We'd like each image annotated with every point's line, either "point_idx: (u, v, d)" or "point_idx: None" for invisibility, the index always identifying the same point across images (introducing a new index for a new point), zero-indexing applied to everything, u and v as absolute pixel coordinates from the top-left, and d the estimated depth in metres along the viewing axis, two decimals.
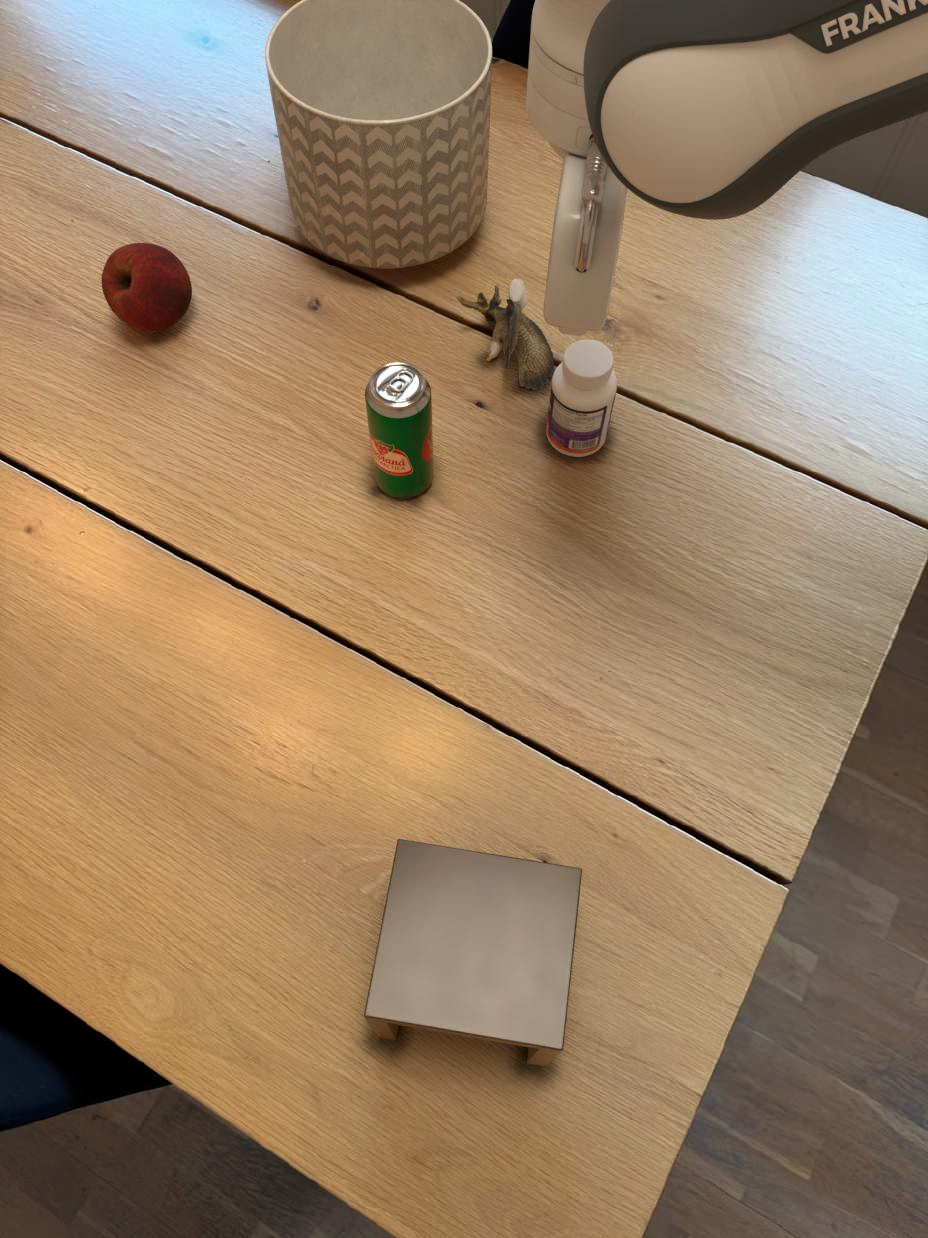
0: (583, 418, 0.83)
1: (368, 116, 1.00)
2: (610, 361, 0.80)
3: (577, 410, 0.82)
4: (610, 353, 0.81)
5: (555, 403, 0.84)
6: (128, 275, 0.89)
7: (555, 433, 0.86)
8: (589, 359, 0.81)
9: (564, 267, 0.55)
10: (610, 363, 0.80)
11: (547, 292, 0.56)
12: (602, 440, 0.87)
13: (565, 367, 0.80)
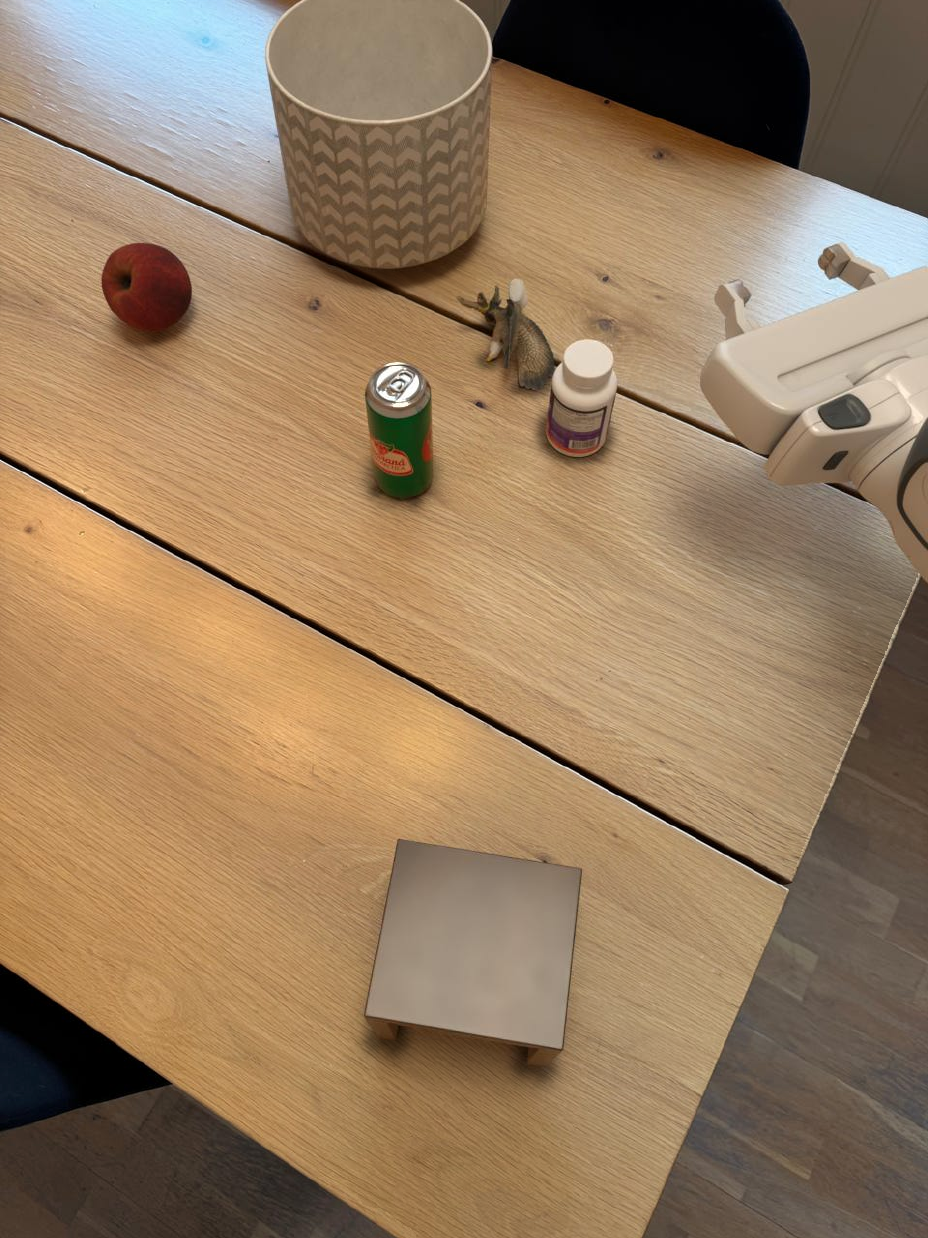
0: (583, 418, 0.83)
1: (368, 116, 1.00)
2: (610, 361, 0.80)
3: (577, 410, 0.82)
4: (610, 353, 0.81)
5: (555, 403, 0.84)
6: (128, 275, 0.89)
7: (555, 433, 0.86)
8: (589, 359, 0.81)
9: None
10: (610, 363, 0.80)
11: None
12: (602, 440, 0.87)
13: (565, 367, 0.80)
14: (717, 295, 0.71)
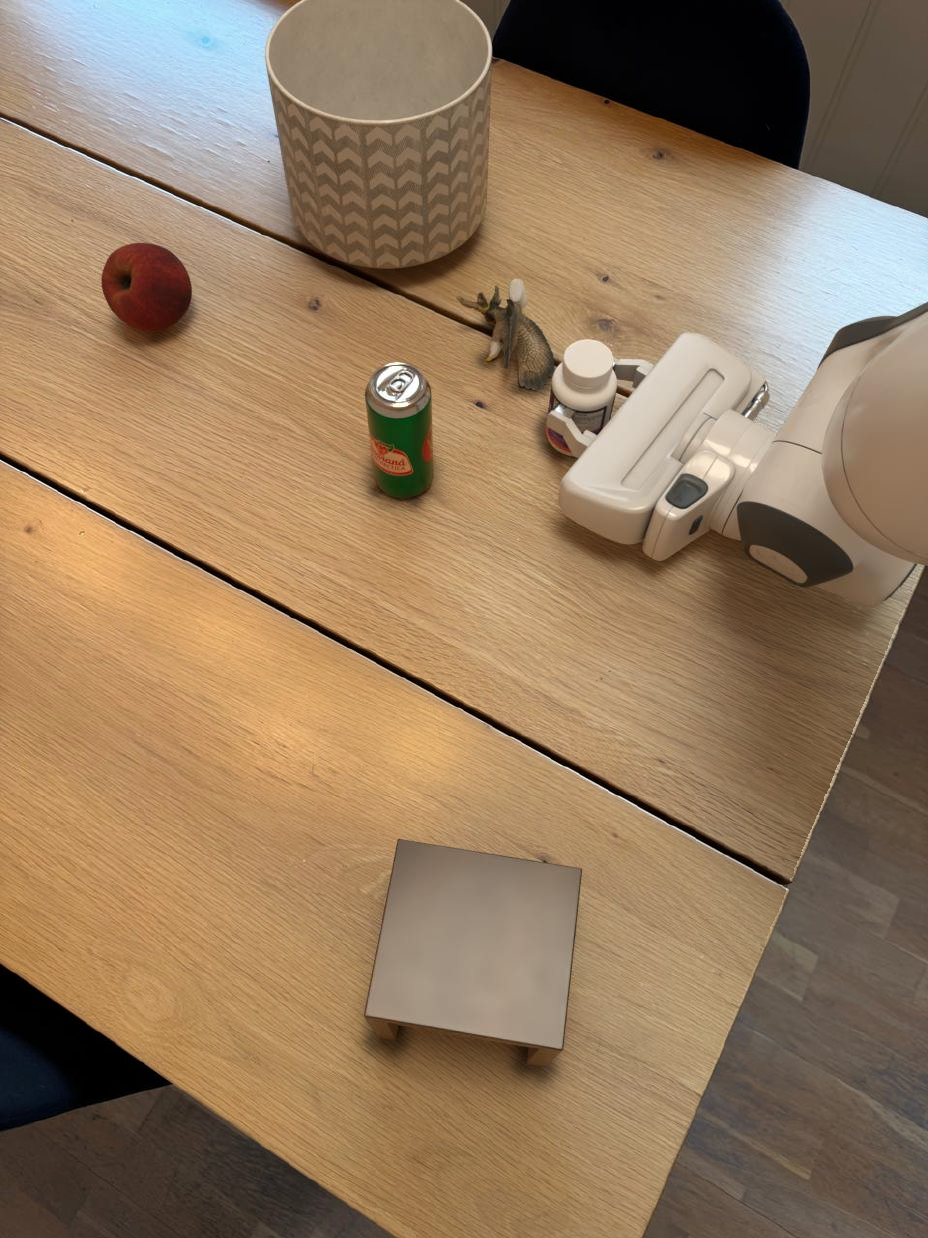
0: (583, 418, 0.83)
1: (368, 116, 1.00)
2: (610, 361, 0.80)
3: (577, 410, 0.82)
4: (610, 353, 0.81)
5: (555, 403, 0.84)
6: (128, 275, 0.89)
7: (555, 433, 0.86)
8: (589, 359, 0.81)
9: None
10: (610, 363, 0.80)
11: None
12: None
13: (565, 367, 0.81)
14: (549, 422, 0.83)
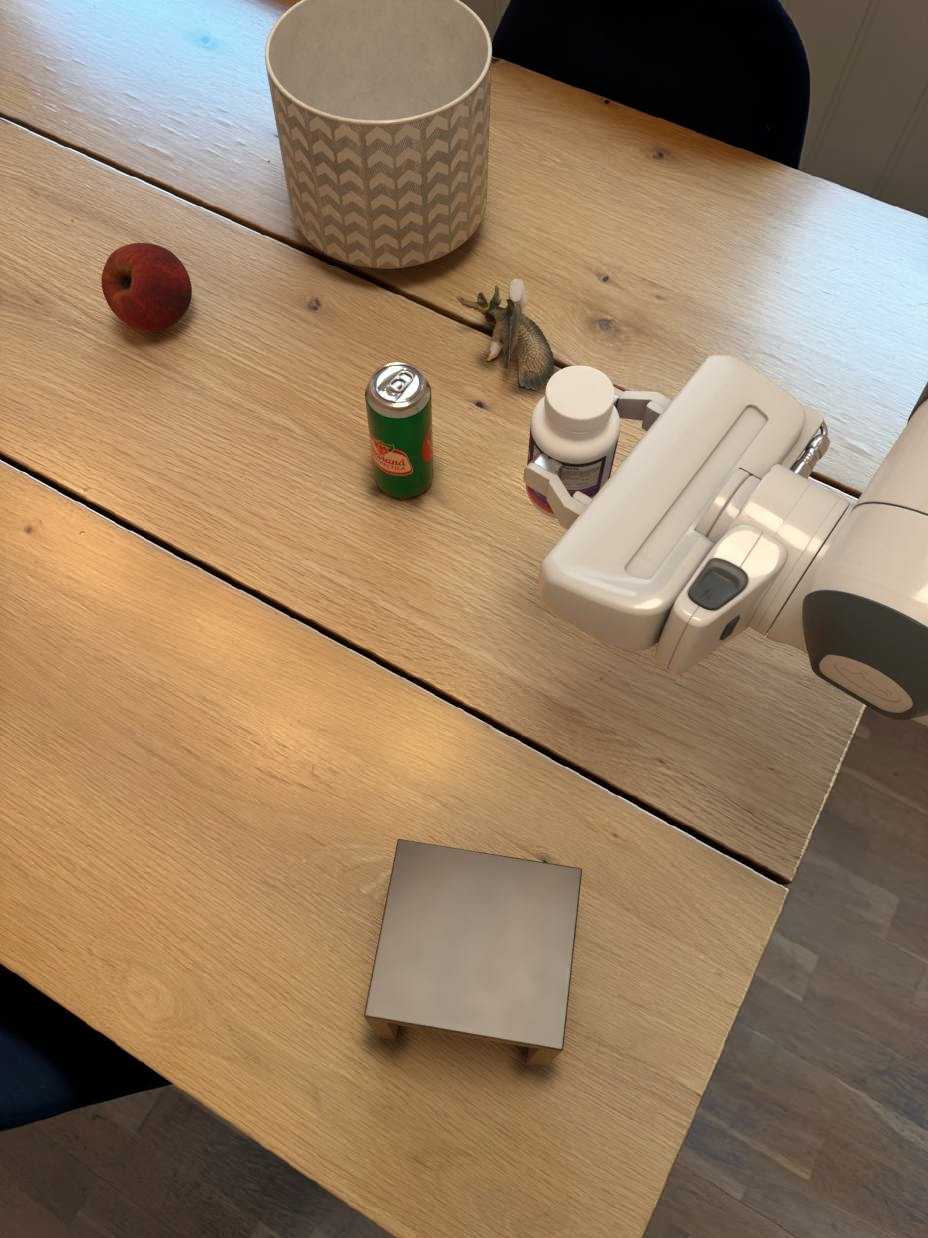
0: (574, 472, 0.61)
1: (368, 116, 1.00)
2: (610, 396, 0.58)
3: (565, 463, 0.60)
4: (610, 385, 0.58)
5: (535, 451, 0.61)
6: (128, 275, 0.89)
7: None
8: (581, 393, 0.58)
9: None
10: (611, 399, 0.58)
11: None
12: None
13: (548, 404, 0.58)
14: (526, 478, 0.61)
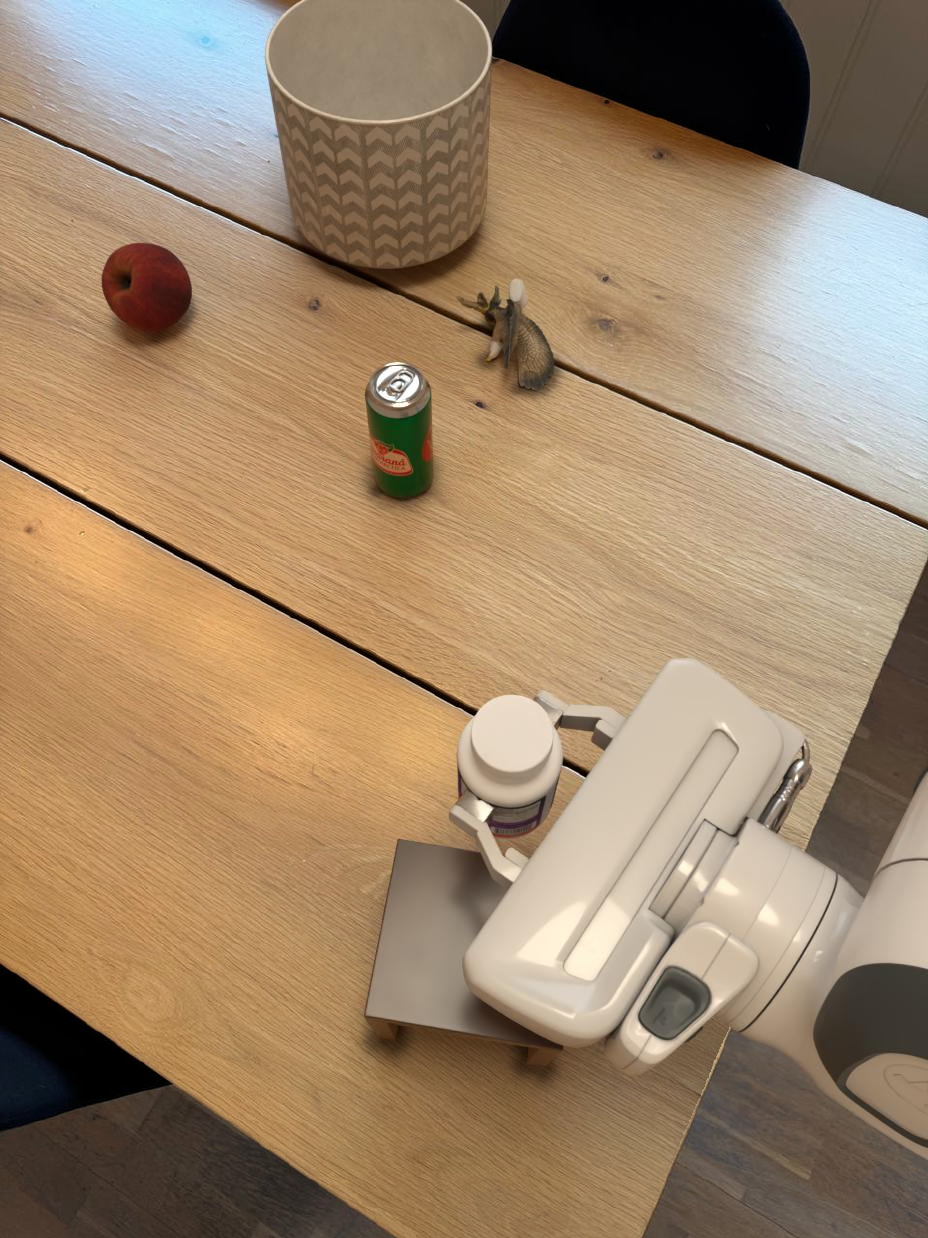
0: (508, 812, 0.51)
1: (368, 116, 1.00)
2: (548, 739, 0.48)
3: (497, 806, 0.50)
4: (548, 723, 0.49)
5: (463, 784, 0.52)
6: (128, 275, 0.89)
7: None
8: (513, 735, 0.48)
9: None
10: (548, 744, 0.48)
11: None
12: (544, 817, 0.55)
13: (473, 748, 0.48)
14: (452, 819, 0.51)
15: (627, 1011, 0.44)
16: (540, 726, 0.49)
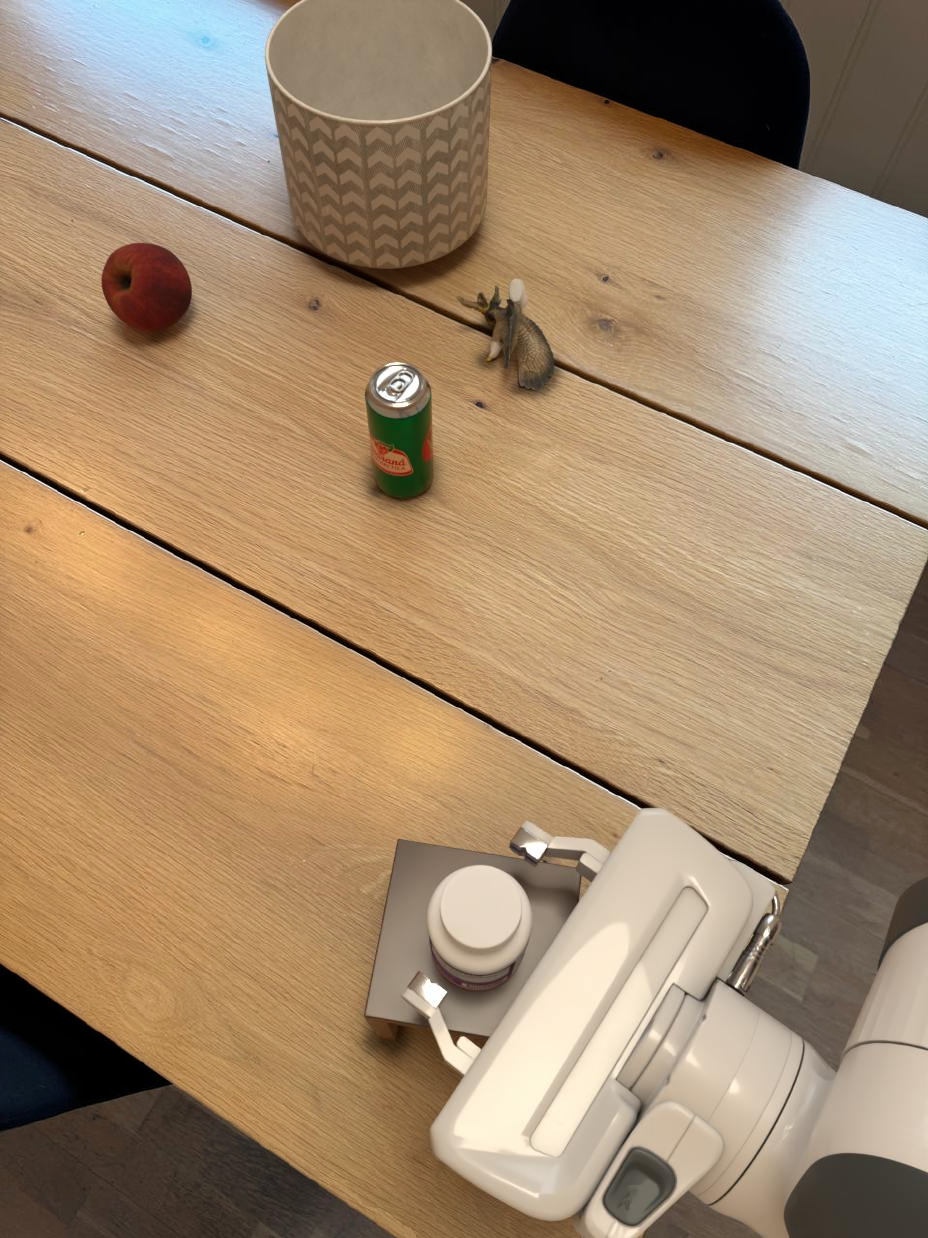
0: (478, 977, 0.51)
1: (368, 116, 1.00)
2: (516, 913, 0.49)
3: (467, 973, 0.51)
4: (517, 895, 0.49)
5: (433, 948, 0.52)
6: (128, 275, 0.89)
7: (440, 967, 0.55)
8: (482, 908, 0.49)
9: None
10: (517, 918, 0.49)
11: None
12: (515, 969, 0.56)
13: (442, 922, 0.49)
14: (405, 1000, 0.50)
15: (592, 1192, 0.44)
16: (508, 899, 0.49)
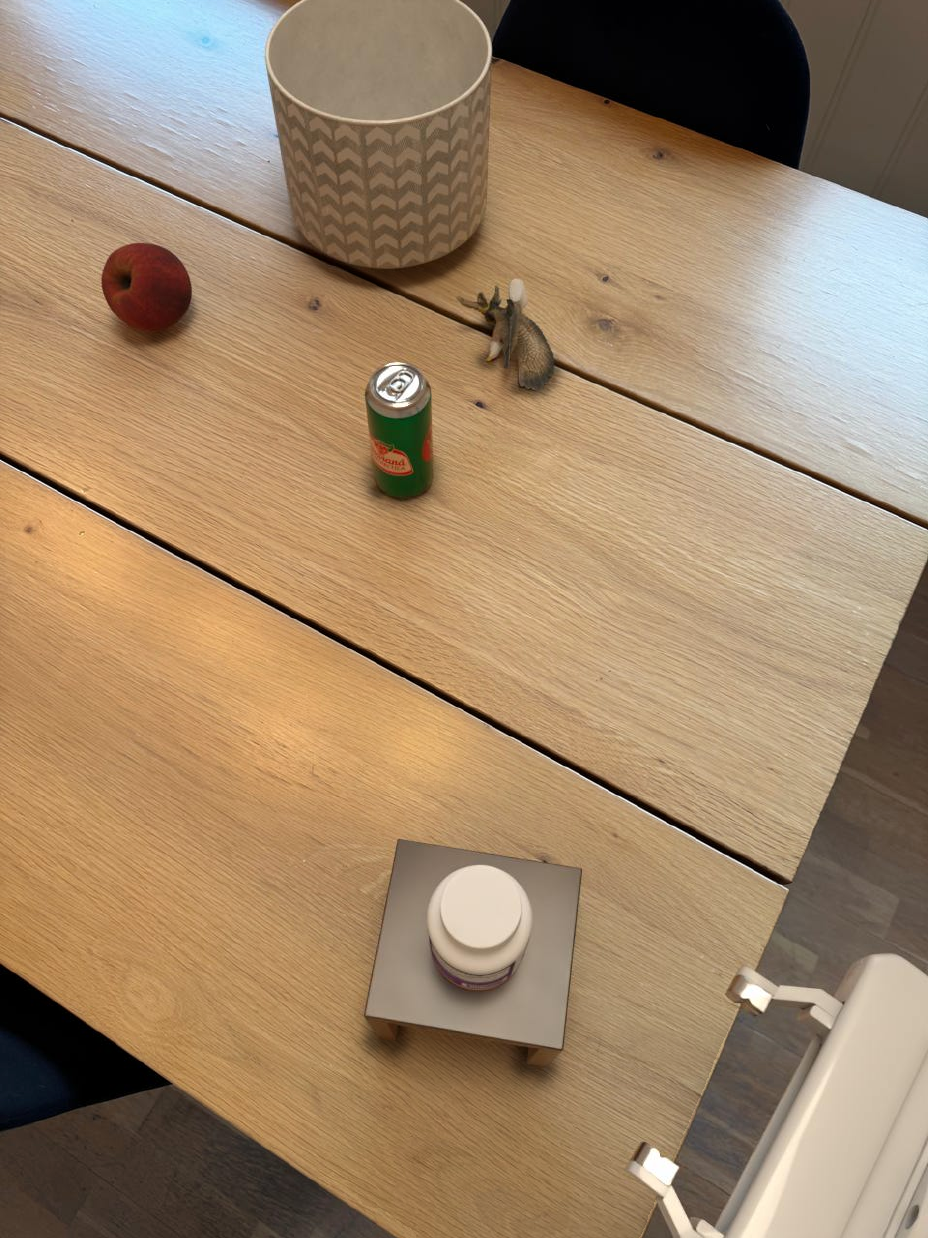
0: (478, 977, 0.51)
1: (368, 116, 1.00)
2: (516, 913, 0.49)
3: (467, 973, 0.51)
4: (517, 895, 0.49)
5: (433, 948, 0.52)
6: (128, 275, 0.89)
7: (440, 967, 0.55)
8: (482, 908, 0.49)
9: None
10: (517, 918, 0.49)
11: None
12: (515, 969, 0.56)
13: (442, 922, 0.49)
14: (630, 1174, 0.46)
15: None
16: (508, 899, 0.49)
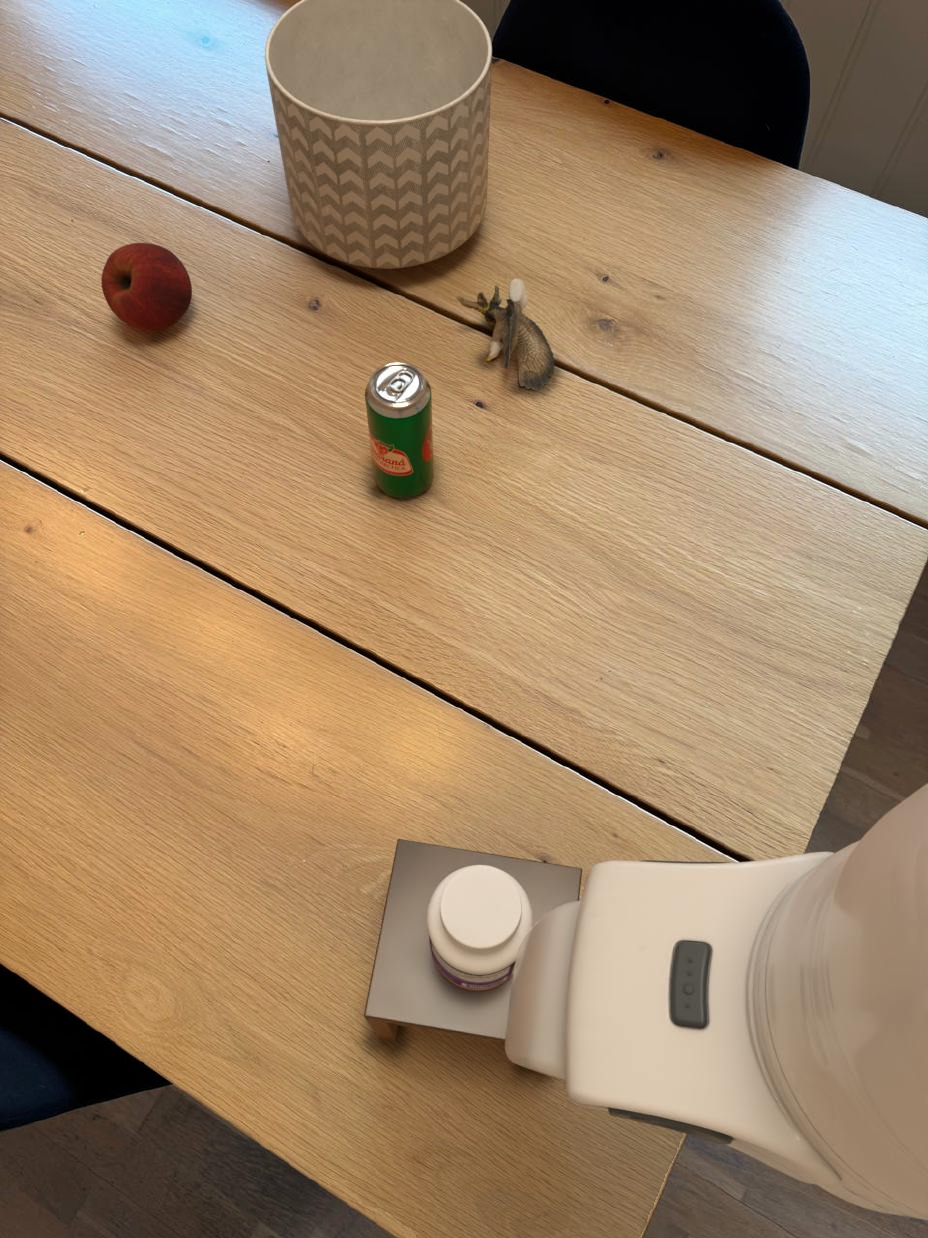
0: (478, 977, 0.51)
1: (368, 116, 1.00)
2: (516, 913, 0.49)
3: (467, 973, 0.51)
4: (517, 895, 0.49)
5: (433, 948, 0.52)
6: (128, 275, 0.89)
7: (440, 967, 0.55)
8: (482, 908, 0.49)
9: None
10: (517, 918, 0.49)
11: None
12: None
13: (442, 922, 0.49)
14: None
15: None
16: (508, 899, 0.49)
